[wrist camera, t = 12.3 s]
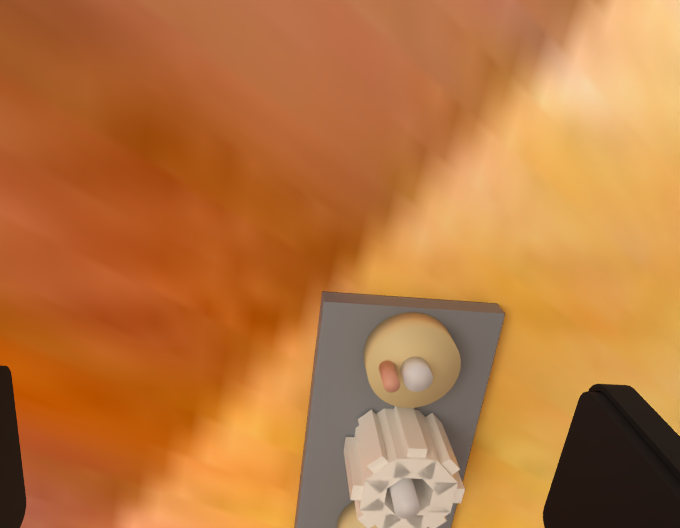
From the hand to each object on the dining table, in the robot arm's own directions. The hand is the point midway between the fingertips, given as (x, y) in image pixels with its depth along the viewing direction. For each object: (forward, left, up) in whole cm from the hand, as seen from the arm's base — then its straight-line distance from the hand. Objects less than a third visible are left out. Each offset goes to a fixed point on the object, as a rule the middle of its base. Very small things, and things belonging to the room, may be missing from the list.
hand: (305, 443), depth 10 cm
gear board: (-9, +20, -26) cm, 34 cm away
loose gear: (-9, +20, -25) cm, 33 cm away
